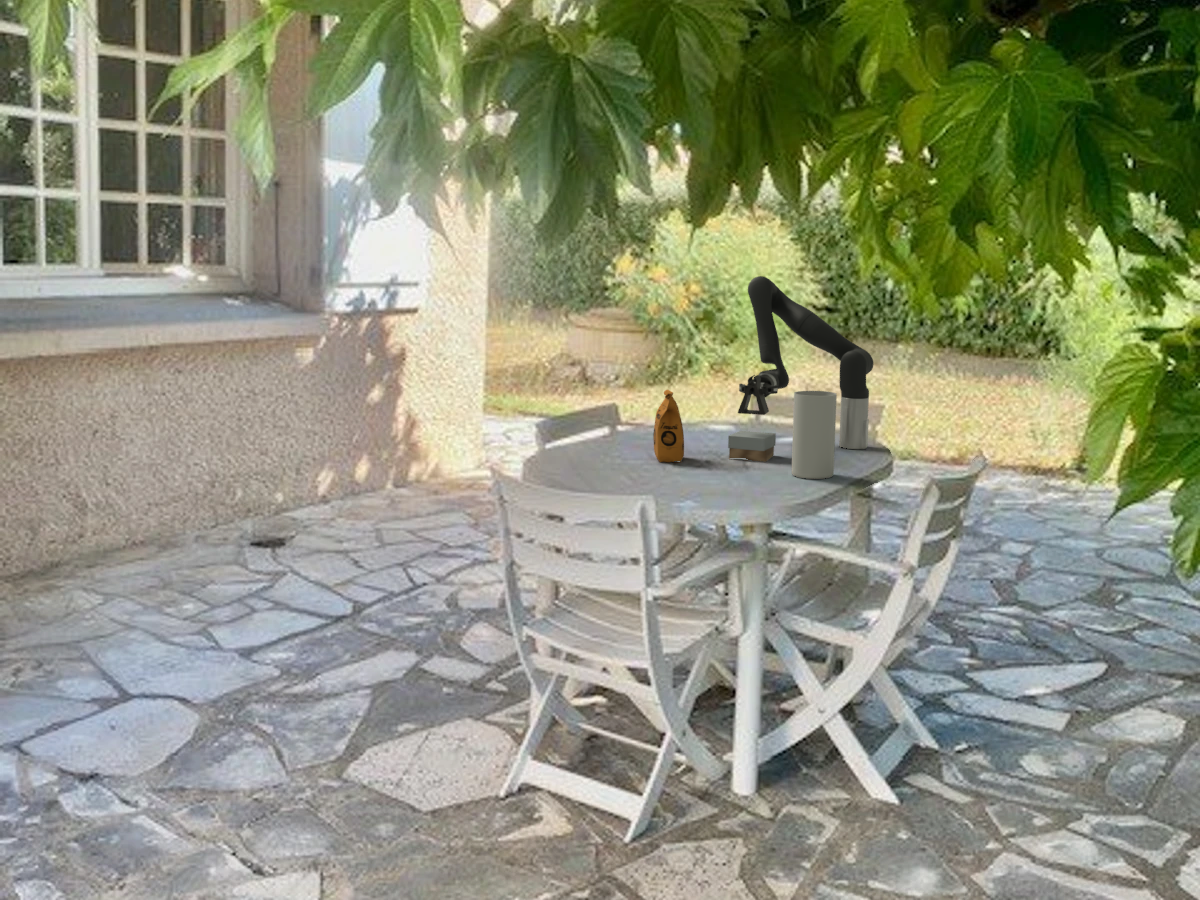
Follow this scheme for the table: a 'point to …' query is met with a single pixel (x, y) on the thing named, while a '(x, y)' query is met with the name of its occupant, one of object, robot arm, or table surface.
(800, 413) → the cylinder vase
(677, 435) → the coffee package
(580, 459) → the table surface
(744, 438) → the top slab
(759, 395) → the black triangular frame
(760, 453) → the bottom slab
